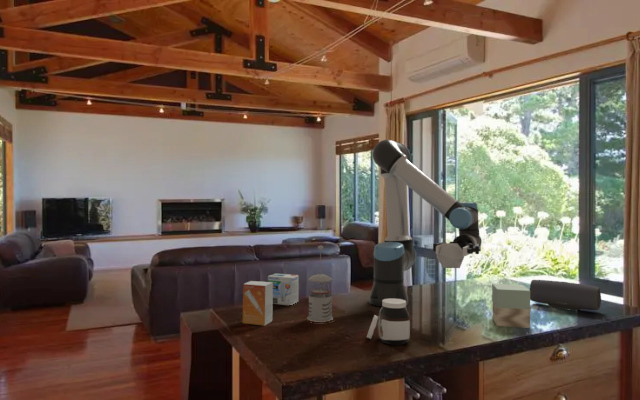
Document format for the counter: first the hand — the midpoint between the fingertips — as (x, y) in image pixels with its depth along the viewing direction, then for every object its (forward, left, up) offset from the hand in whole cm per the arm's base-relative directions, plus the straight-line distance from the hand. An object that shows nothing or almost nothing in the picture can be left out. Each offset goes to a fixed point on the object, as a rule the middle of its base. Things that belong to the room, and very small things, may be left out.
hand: (450, 251), depth 150 cm
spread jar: (-18, -22, -24) cm, 38 cm away
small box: (-61, -14, -24) cm, 67 cm away
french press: (-42, -4, -24) cm, 49 cm away
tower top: (+20, +8, -18) cm, 28 cm away
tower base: (+20, +8, -24) cm, 32 cm away
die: (0, +5, -6) cm, 8 cm away
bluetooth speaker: (+43, +35, -24) cm, 60 cm away
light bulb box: (-62, +15, -24) cm, 68 cm away
